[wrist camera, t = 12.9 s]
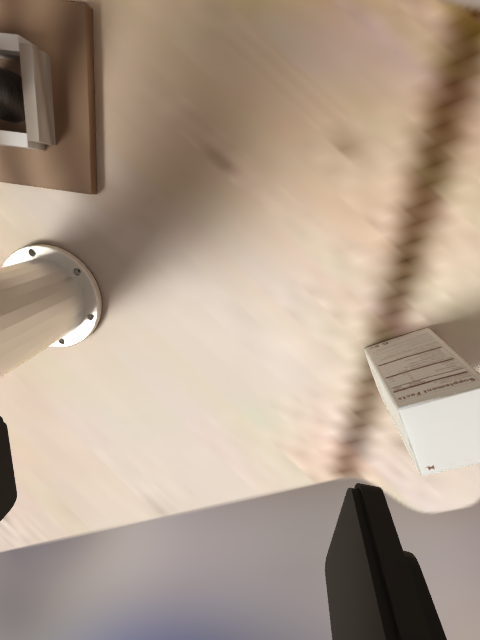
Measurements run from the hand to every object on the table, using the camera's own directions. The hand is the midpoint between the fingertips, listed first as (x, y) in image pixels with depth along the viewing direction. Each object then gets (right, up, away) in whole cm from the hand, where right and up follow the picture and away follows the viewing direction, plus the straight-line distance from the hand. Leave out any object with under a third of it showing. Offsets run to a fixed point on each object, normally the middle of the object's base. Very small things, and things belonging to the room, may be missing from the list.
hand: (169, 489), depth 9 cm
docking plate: (-21, +27, +25) cm, 42 cm away
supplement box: (+21, 0, +30) cm, 37 cm away
